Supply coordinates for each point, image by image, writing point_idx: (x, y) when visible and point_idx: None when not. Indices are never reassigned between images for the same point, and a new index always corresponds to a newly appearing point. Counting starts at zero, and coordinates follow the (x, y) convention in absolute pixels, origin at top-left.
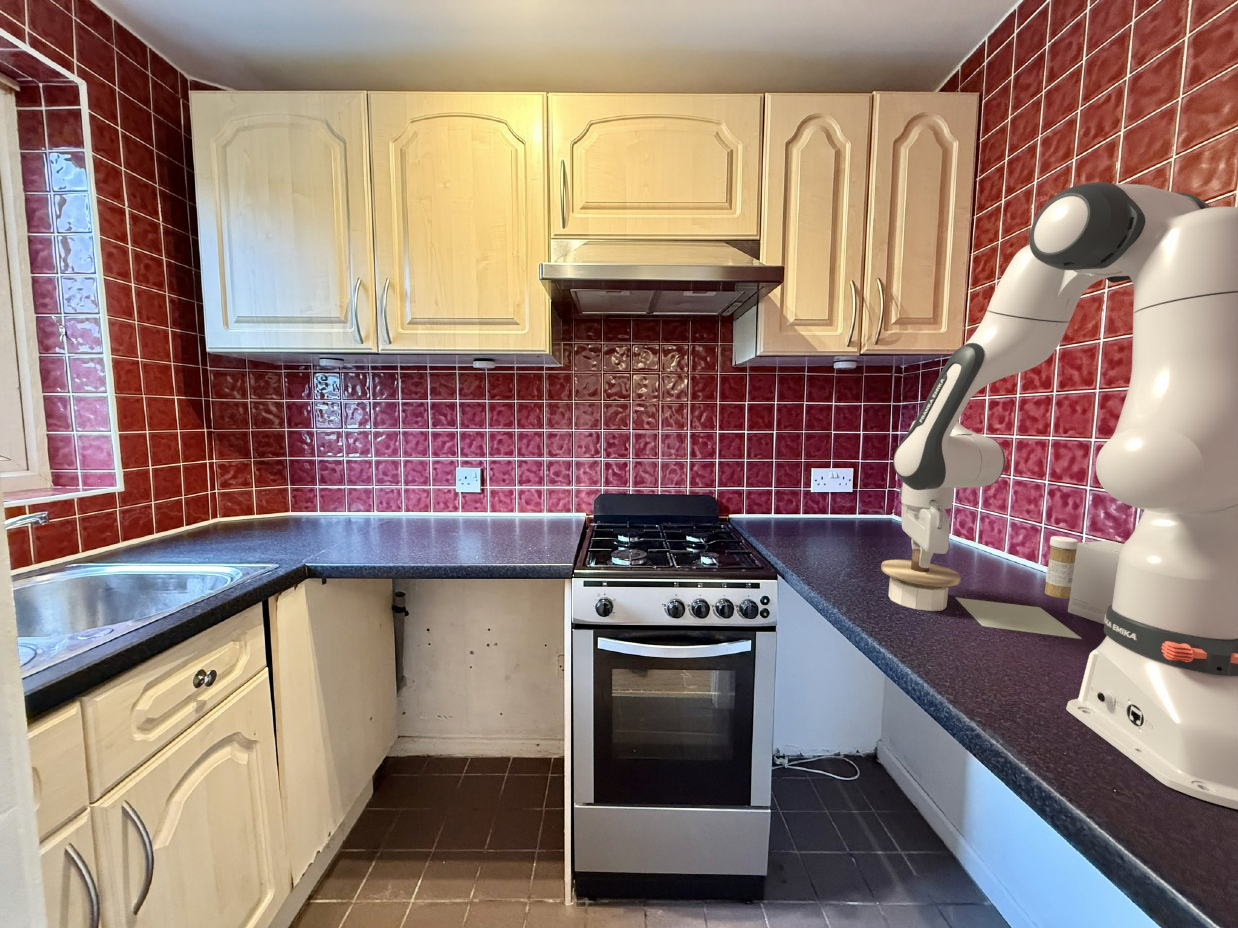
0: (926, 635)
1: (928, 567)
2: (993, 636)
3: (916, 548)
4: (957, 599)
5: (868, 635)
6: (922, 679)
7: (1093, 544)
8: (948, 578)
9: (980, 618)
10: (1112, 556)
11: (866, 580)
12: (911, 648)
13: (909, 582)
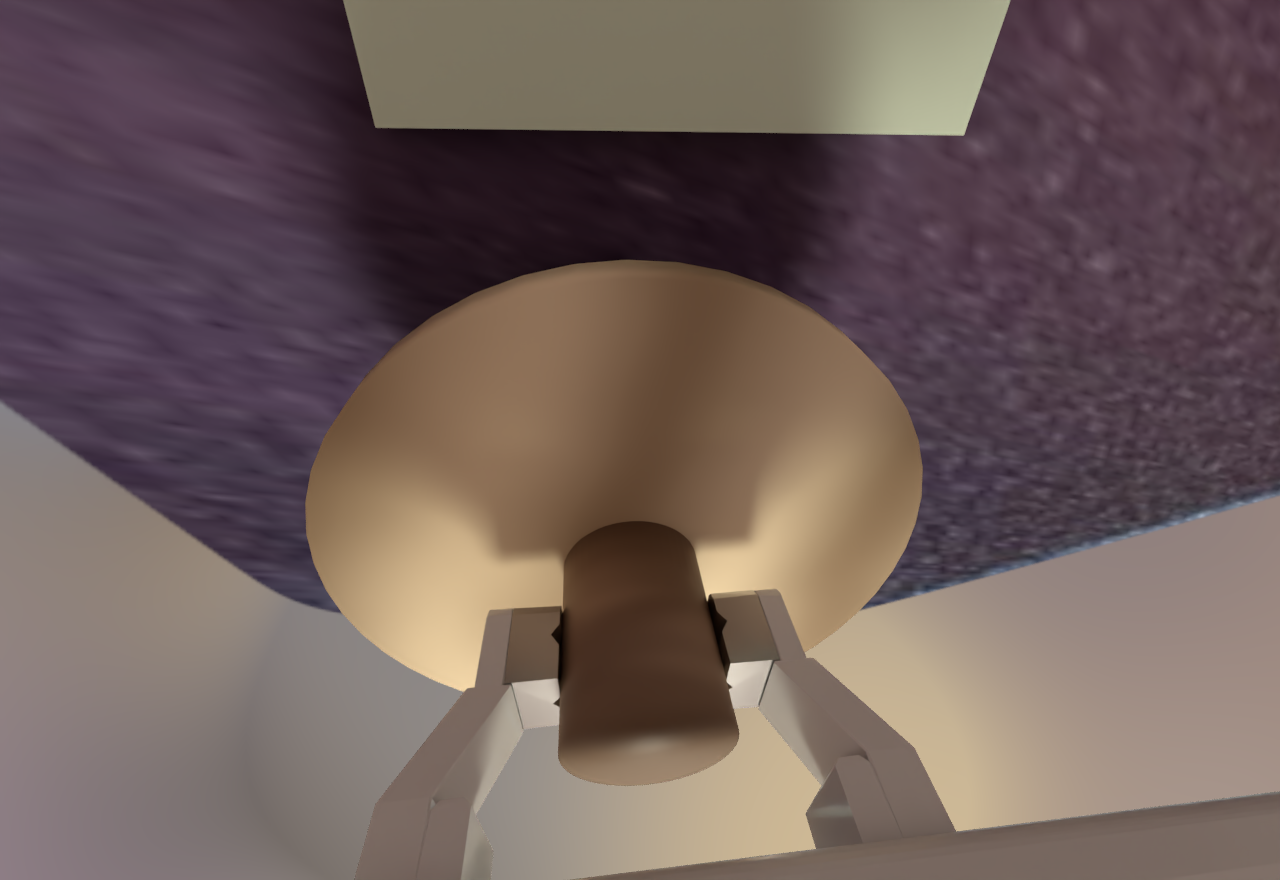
0: (989, 431)
1: (776, 591)
2: (1042, 91)
3: (497, 753)
4: (424, 123)
5: (973, 577)
6: (1266, 493)
7: None
8: (838, 426)
9: (835, 88)
10: None
11: (304, 562)
12: (1084, 491)
13: None
